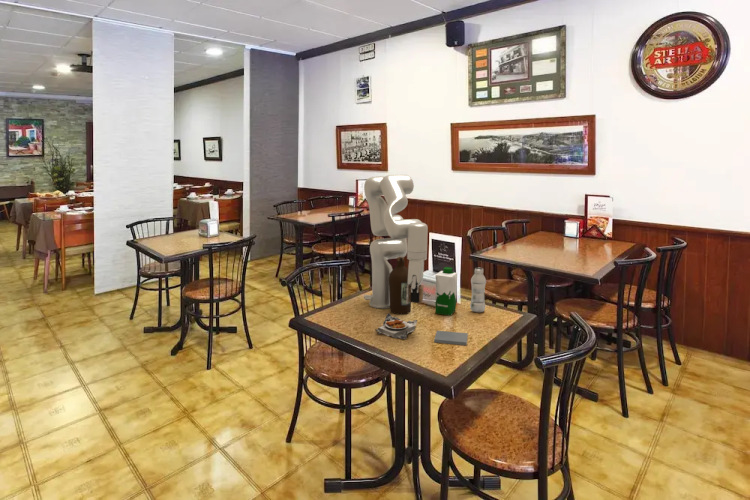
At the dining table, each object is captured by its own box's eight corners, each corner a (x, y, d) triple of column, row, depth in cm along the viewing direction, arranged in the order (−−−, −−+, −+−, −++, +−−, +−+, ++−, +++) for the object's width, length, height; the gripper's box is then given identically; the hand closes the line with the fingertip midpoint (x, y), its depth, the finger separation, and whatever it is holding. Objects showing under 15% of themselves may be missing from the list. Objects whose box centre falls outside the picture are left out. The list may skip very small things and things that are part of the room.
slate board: (434, 342, 168) (434, 339, 168) (436, 333, 177) (436, 330, 177) (466, 345, 165) (466, 342, 165) (467, 336, 174) (467, 333, 174)
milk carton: (457, 310, 203) (459, 268, 199) (451, 316, 195) (452, 272, 191) (439, 307, 207) (440, 265, 203) (432, 313, 199) (433, 270, 195)
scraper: (406, 303, 172) (406, 286, 171) (409, 296, 180) (410, 280, 178) (420, 305, 171) (421, 287, 169) (423, 298, 178) (424, 281, 177)
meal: (406, 329, 170) (374, 325, 175) (406, 339, 171) (375, 335, 176) (417, 316, 184) (388, 313, 188) (417, 326, 184) (388, 322, 189)
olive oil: (383, 311, 203) (383, 257, 198) (399, 305, 210) (400, 253, 205) (401, 316, 195) (401, 261, 190) (416, 311, 203) (417, 257, 197)
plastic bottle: (486, 314, 198) (488, 270, 194) (471, 314, 198) (472, 270, 194) (483, 309, 204) (485, 266, 200) (468, 309, 204) (470, 266, 200)
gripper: (410, 249, 180) (410, 292, 184) (403, 259, 164) (402, 306, 168) (429, 250, 178) (428, 294, 182) (423, 261, 162) (422, 308, 166)
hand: (415, 299), depth 175 cm, fingers closed on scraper, 4 cm apart
